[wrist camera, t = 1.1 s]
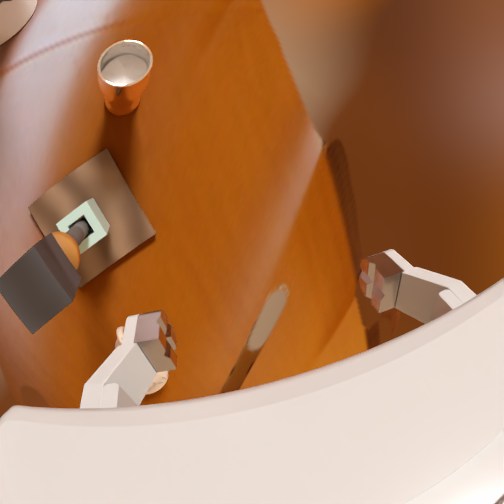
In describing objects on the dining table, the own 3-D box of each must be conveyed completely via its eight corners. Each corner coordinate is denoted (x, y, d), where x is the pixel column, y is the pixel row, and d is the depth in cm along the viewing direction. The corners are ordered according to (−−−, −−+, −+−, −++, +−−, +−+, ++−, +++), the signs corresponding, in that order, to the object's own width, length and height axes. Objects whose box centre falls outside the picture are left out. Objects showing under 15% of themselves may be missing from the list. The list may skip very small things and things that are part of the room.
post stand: (81, 285, 40) (50, 433, 12) (30, 206, 33) (-93, 254, 5) (155, 231, 44) (222, 320, 16) (107, 149, 37) (79, 75, 9)
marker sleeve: (84, 243, 36) (76, 257, 29) (67, 216, 34) (55, 224, 27) (109, 225, 38) (107, 234, 31) (93, 197, 35) (86, 200, 29)
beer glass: (151, 96, 38) (166, 60, 25) (121, 126, 37) (122, 100, 24) (124, 72, 34) (129, 29, 21) (93, 102, 34) (83, 66, 21)
